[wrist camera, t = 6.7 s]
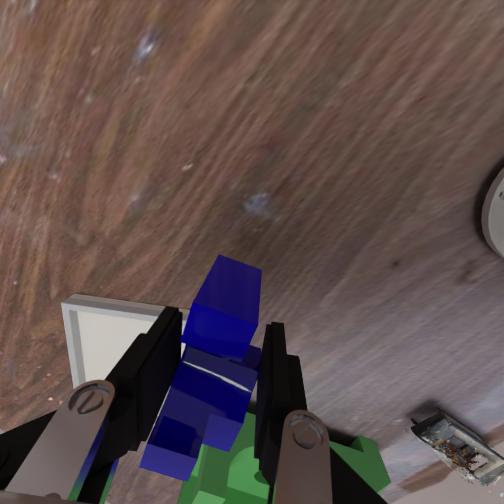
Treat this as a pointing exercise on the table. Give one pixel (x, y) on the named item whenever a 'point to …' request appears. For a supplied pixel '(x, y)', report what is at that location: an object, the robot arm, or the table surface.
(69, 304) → the tray
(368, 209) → the table surface
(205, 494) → the green cradle stand
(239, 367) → the cable holder
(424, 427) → the silver rectangular box
